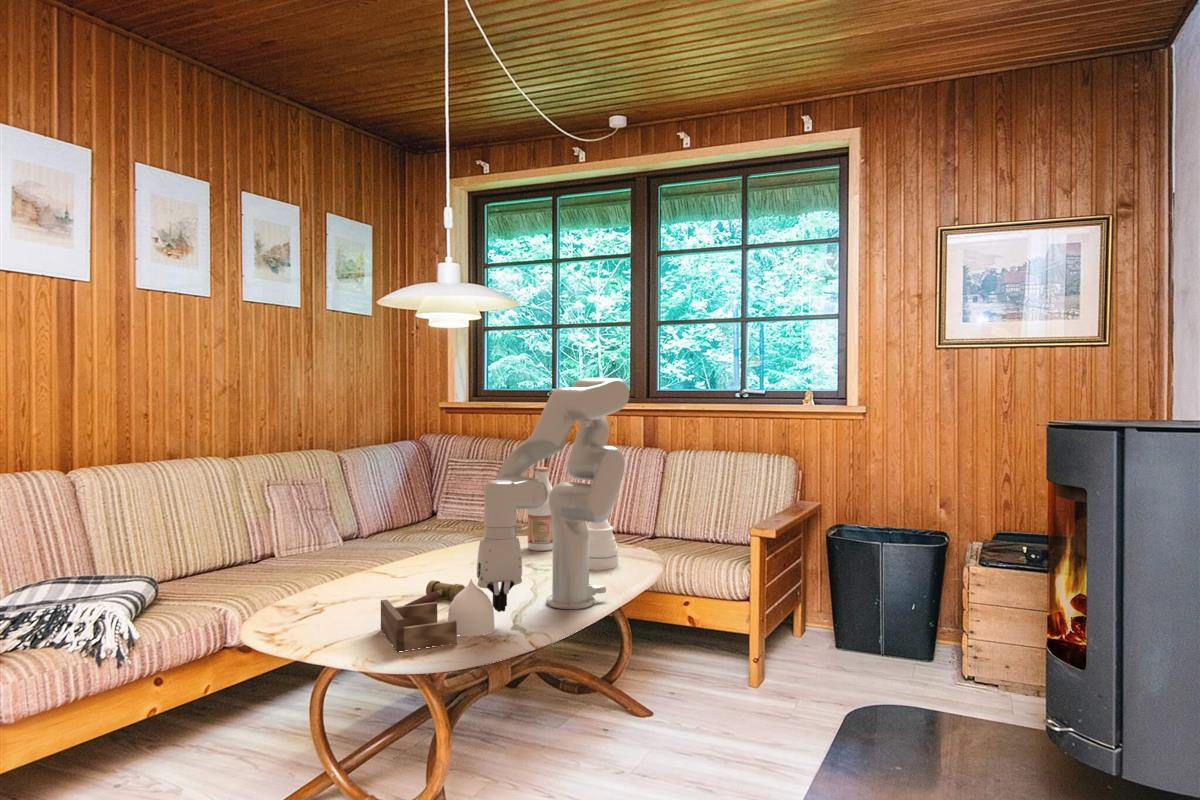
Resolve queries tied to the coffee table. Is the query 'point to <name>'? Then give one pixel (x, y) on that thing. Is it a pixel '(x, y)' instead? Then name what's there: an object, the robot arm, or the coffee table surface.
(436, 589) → the gavel
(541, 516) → the fruit juice
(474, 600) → the teardrop
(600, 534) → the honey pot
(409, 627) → the box
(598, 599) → the coffee table surface
